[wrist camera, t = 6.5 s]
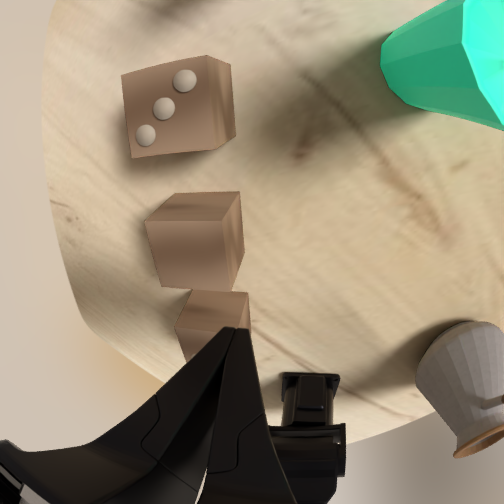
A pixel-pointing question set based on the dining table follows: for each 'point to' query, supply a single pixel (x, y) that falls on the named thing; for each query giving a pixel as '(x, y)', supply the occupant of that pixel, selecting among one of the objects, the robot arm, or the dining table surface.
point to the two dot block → (210, 318)
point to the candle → (451, 61)
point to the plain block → (197, 240)
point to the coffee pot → (466, 383)
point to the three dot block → (179, 106)
